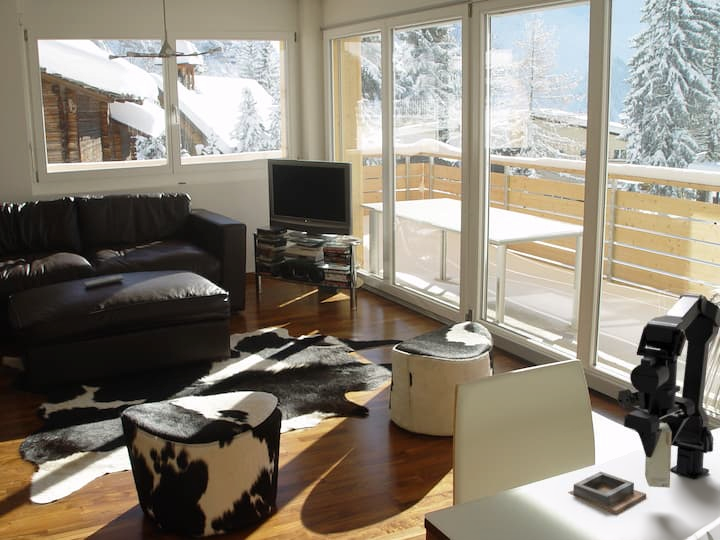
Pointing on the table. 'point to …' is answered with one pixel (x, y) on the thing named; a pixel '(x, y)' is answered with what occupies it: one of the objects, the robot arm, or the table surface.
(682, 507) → the table surface
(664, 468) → the skincare box
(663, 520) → the table surface
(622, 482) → the holder
